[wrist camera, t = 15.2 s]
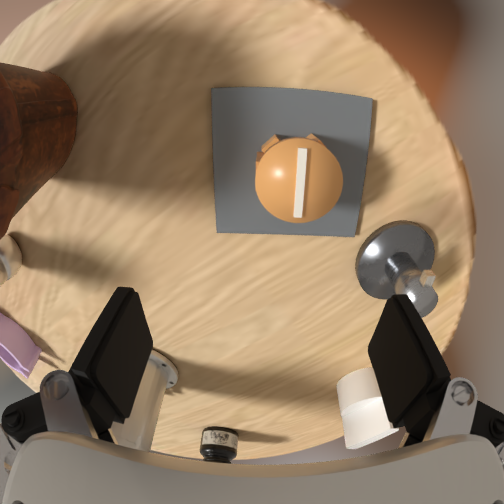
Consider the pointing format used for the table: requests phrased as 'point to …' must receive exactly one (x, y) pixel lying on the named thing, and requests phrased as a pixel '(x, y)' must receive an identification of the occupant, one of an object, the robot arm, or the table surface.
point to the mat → (283, 126)
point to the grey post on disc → (399, 264)
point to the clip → (17, 347)
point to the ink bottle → (218, 445)
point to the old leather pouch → (31, 134)
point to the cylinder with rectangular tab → (362, 409)
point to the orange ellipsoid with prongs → (297, 178)
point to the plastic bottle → (9, 258)
